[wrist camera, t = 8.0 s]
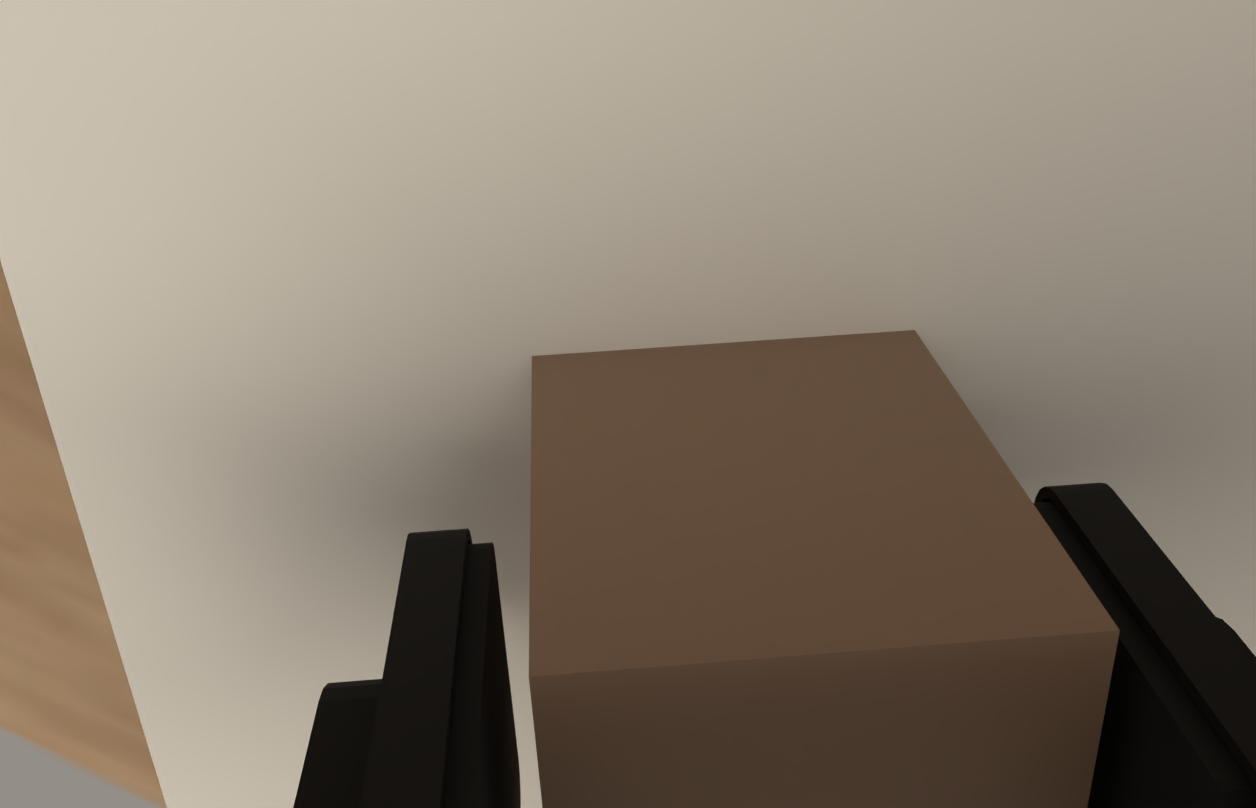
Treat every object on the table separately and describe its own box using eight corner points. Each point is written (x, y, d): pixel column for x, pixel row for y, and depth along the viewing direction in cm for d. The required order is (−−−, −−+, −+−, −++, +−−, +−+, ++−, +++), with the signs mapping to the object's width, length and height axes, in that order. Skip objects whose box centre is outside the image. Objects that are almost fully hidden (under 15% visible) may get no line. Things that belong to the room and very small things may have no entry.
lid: (1460, -234, 11) (2249, -245, 6) (1194, 844, 18) (1464, 1282, 13) (-81, -157, 11) (-662, -94, 5) (231, 927, 17) (100, 1420, 12)
